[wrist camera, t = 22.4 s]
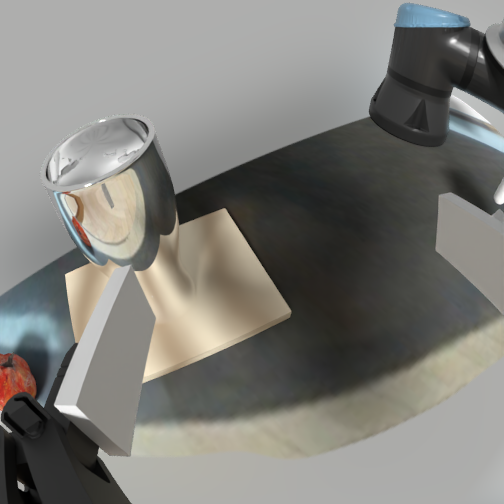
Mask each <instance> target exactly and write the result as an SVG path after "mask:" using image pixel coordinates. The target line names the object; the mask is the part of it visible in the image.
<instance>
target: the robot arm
mask: <svg viewBox="0 0 504 504" xmlns="http://www.w3.org/2000/svg"><path fill="white" fill-rule="evenodd" d="M394 26H395V32H394V39H393V44H392V49H391V55H390V60H389V65H388V70H387V74H386V77H385V78H384V80H383V82H382V83H381V85H380V87H379V88H378V89H377V91H376V93H375V95H374V96H373V97H372V99H371V103H370V108H369V114H370V116H371V118H372V119H373V120H374V121H375V122H376V123H377V124H378V125H379V126H380V127H382V128H383V129H385V130H386V131H388V132H389V133H391V134H393V135H395V136H397V137H399V138H401V139H404V140H406V141H409V142H412V143H415V144H419V145H423V146H433V147H434V146H440V145H442V144H443V143H444V142H445V140H446V137H447V135H448V132H449V99H450V96H451V92H452V90H453V87H456V88H458V89H460V90H462V91H464V92H467V93H468V94H470V95H472V96H474V97H476V98H478V99H480V100H481V101H483V102H485V103H487V104H489V105H490V106H492V107H494V108H496V109H498V110H499V111H501V112H502V113H504V19H503V22H502V24H493V25H491V26H490V27H488V29H487V31H486V33H485V34H484V33H482V32H479V31H477V30H475V29H473V28H471V27H469V26H470V21H469V19H468V18H466V17H464V16H460V15H457V14H454V13H451V12H447V11H443V10H440V9H436V8H432V7H428V6H423V5H419V4H413V3H404V4H402V5H401V6H400V7H399V9H398V14H397V19H396V23H395V24H394ZM435 250H436V251H437V252H438V253H439V254H441V255H442V256H443V257H444V258H445V259H446V260H447V261H448V262H450V263H451V264H452V265H453V266H454V267H455V268H456V269H457V270H458V271H460V272H461V273H462V274H463V275H464V276H465V277H466V278H467V279H468V280H469V281H470V282H471V283H472V284H473V285H474V286H475V287H476V288H477V289H478V290H480V291H481V292H482V293H483V294H484V295H485V296H486V297H487V298H488V299H489V300H490V301H491V302H492V303H493V305H494V306H495V307H496V308H497V309H498V310H499V311H500V312H501V313H502V314H503V315H504V223H502V222H500V221H499V220H497V219H496V218H494V217H493V216H491V215H489V214H488V213H486V212H484V211H483V210H481V209H479V208H478V207H476V206H474V205H473V204H471V203H469V202H467V201H466V200H464V199H462V198H460V197H459V196H457V195H455V194H453V193H446V194H441V195H439V207H438V225H437V238H436V249H435ZM155 320H156V317H155V315H154V313H153V311H152V309H151V306H150V304H149V302H148V300H147V298H146V296H145V294H144V292H143V290H142V287H141V285H140V283H139V281H138V279H137V276H136V274H135V272H134V270H133V267H132V265H128V266H124V267H120V268H116V269H115V270H114V271H113V273H112V275H111V277H110V279H109V281H108V283H107V285H106V287H105V289H104V291H103V293H102V295H101V297H100V299H99V301H98V303H97V305H96V307H95V309H94V311H93V313H92V315H91V317H90V319H89V321H88V323H87V326H86V328H85V330H84V332H83V334H82V337H81V339H80V341H79V343H75V344H74V345H73V346H72V347H71V348H70V350H69V351H68V352H67V353H66V355H65V357H64V359H63V362H62V364H61V368H60V369H59V371H58V373H57V377H56V378H55V381H54V383H53V386H52V388H51V391H50V393H49V396H48V398H47V401H46V404H45V406H44V408H43V407H42V406H41V405H40V404H39V403H38V402H37V401H36V400H35V399H34V397H33V396H32V395H31V394H29V393H27V392H19V393H17V394H15V395H13V396H12V397H11V398H10V399H9V400H8V401H7V403H6V404H5V406H4V407H3V410H2V413H1V422H3V423H4V424H5V425H6V426H7V427H8V428H9V429H10V430H11V431H12V433H8V432H7V431H6V430H5V429H4V428H3V427H2V426H1V425H0V504H131V503H130V501H129V500H128V498H127V497H126V496H125V494H124V493H123V491H122V490H121V489H120V487H119V486H118V484H117V483H116V481H115V480H114V478H113V477H112V475H111V473H110V472H109V470H108V469H107V467H106V466H105V464H104V462H103V461H102V460H101V459H100V458H99V457H98V456H97V454H98V449H99V447H100V448H101V449H102V450H103V451H104V452H106V453H107V454H108V455H110V456H131V449H132V441H133V435H134V428H135V422H136V416H137V410H138V404H139V398H140V393H141V387H142V382H143V377H144V371H145V366H146V362H147V357H148V352H149V347H150V343H151V338H152V334H153V329H154V325H155ZM17 480H18V481H19V482H21V483H22V484H24V487H25V490H24V491H22V490H20V489H19V488H18V483H17Z"/></svg>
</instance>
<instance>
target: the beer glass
mask: <svg viewBox="0 0 504 504" xmlns="http://www.w3.org/2000/svg"><path fill="white" fill-rule="evenodd" d="M40 178H41V182H42V184H43V185H44V187H45V188H46V191H47V193H48V195H49V197H50V200H51V202H52V204H53V206H54V208H55V210H56V212H57V214H58V216H59V218H60V220H61V222H62V224H63V226H64V227H65V229H66V231H67V232H68V234H69V236H70V237H71V239H72V240H73V241H74V243H75V244H76V246H77V247H78V248H79V250H80V251H81V252H82V253H83V255H84V256H85V257H86V258H87V259H88V260H89V261H90V262H91V263H92V264H93V265H94V266H95V267H96V268H98V269H99V270H100V271H101V272H102V273H103V274H104V275H106V276H107V277H108V278H109V279H110V277H111V275H112V273H113V271H114V270H115V269H116V268H120V267H124V266H128V265H132V267H133V270H134V272H135V274H136V276H137V279H138V281H139V283H140V285H141V287H142V290H143V292H144V294H145V296H146V298H147V300H148V302H149V304H150V306H151V309H152V311H153V313H154V315H155V317H156V320H155V325H164V324H169V323H172V322H174V321H176V320H178V319H179V318H181V317H182V316H183V315H184V314H185V313H186V312H187V311H188V310H189V309H190V307H191V305H192V303H193V301H194V298H195V292H196V287H195V282H194V279H193V277H192V275H191V273H190V272H189V270H188V269H187V268H186V266H185V265H184V263H183V261H182V259H181V253H180V235H179V219H178V209H177V202H176V198H175V193H174V189H173V184H172V181H171V177H170V174H169V171H168V167H167V165H166V161H165V158H164V156H163V153H162V150H161V147H160V144H159V142H158V139H157V136H156V133H155V127H154V125H153V123H152V122H151V121H150V120H149V119H147V118H146V117H143V116H140V115H134V114H123V115H114V116H110V117H106V118H102V119H99V120H96V121H94V122H91V123H89V124H87V125H85V126H83V127H81V128H79V129H77V130H76V131H74V132H73V133H71V134H70V135H68V136H67V137H66V138H64V139H63V140H62V141H61V142H59V143H58V144H57V145H56V146H55V147H54V148H53V150H52V151H51V152H50V153H49V154H48V156H47V157H46V159H45V161H44V163H43V165H42V168H41V172H40Z"/></svg>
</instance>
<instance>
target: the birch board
mask: <svg viewBox="0 0 504 504" xmlns="http://www.w3.org/2000/svg"><path fill="white" fill-rule="evenodd" d="M179 235H180V253H181V259H182V261H183V263H184V265H185V266H186V268H187V269H188V270H189V272H190V273H191V275H192V277H193V279H194V282H195V287H196V292H195V298H194V301H193V303H192V305H191V307H190V309H189V310H188V311H187V312H186V313H185V314H184V315H183V316H182V317H181V318H179V319H178V320H176V321H174V322H172V323H169V324H164V325H154V329H153V334H152V338H151V343H150V347H149V352H148V357H147V362H146V366H145V371H144V377H143V382H142V383H145V382H147V381H150V380H152V379H155V378H157V377H160V376H162V375H165V374H167V373H170V372H172V371H175V370H177V369H179V368H182V367H184V366H187V365H189V364H191V363H194V362H196V361H198V360H201V359H203V358H205V357H207V356H210V355H212V354H214V353H216V352H219V351H221V350H223V349H225V348H227V347H230V346H232V345H234V344H236V343H238V342H240V341H243V340H245V339H247V338H249V337H251V336H253V335H255V334H257V333H259V332H262V331H264V330H266V329H268V328H270V327H272V326H274V325H276V324H278V323H280V322H282V321H284V320H286V319H288V318H290V315H291V310H290V308H289V307H288V305H287V304H286V302H285V300H284V299H283V297H282V296H281V294H280V293H279V291H278V290H277V288H276V286H275V285H274V283H273V282H272V280H271V279H270V277H269V276H268V274H267V272H266V271H265V269H264V268H263V266H262V265H261V263H260V262H259V260H258V259H257V257H256V255H255V254H254V252H253V251H252V249H251V248H250V246H249V245H248V243H247V241H246V240H245V238H244V237H243V235H242V234H241V232H240V231H239V229H238V227H237V226H236V224H235V223H234V221H233V220H232V218H231V217H230V215H229V214H228V212H227V210H226V209H225V208H224V209H221V210H218V211H216V212H213V213H210V214H208V215H205V216H203V217H200V218H197V219H195V220H192V221H190V222H187V223H185V224H182V225H180V226H179ZM65 277H66V286H67V293H68V301H69V307H70V314H71V320H72V325H73V331H74V336H75V341H76V343H79V341H80V339H81V337H82V334H83V332H84V330H85V328H86V326H87V323H88V321H89V319H90V317H91V315H92V313H93V311H94V309H95V307H96V305H97V303H98V301H99V299H100V297H101V295H102V293H103V291H104V289H105V287H106V285H107V283H108V281H109V278H108V277H107V276H106V275H104V274H103V273H102V272H101V271H100V270H99V269H98V268H96V267H95V266H94V265H93V264H92V263H89V264H87V265H85V266H83V267H80V268H78V269H76V270H74V271H72V272H69V273H67V274H65Z"/></svg>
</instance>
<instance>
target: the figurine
mask: <svg viewBox="0 0 504 504" xmlns="http://www.w3.org/2000/svg"><path fill="white" fill-rule="evenodd" d="M494 200H495V202H496V203H497V204H503V203H504V178H503V179H502V181H501V183H500V185H499V186H498V188H497V190H496V192H495V194H494ZM492 216H493V217H494V218H496V219H497V220H499V221H500V222H502V223H504V213H503V212H502V211H501V210H500V209H498V210H497V211H496V212H495V213H494V214H493V215H492Z"/></svg>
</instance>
